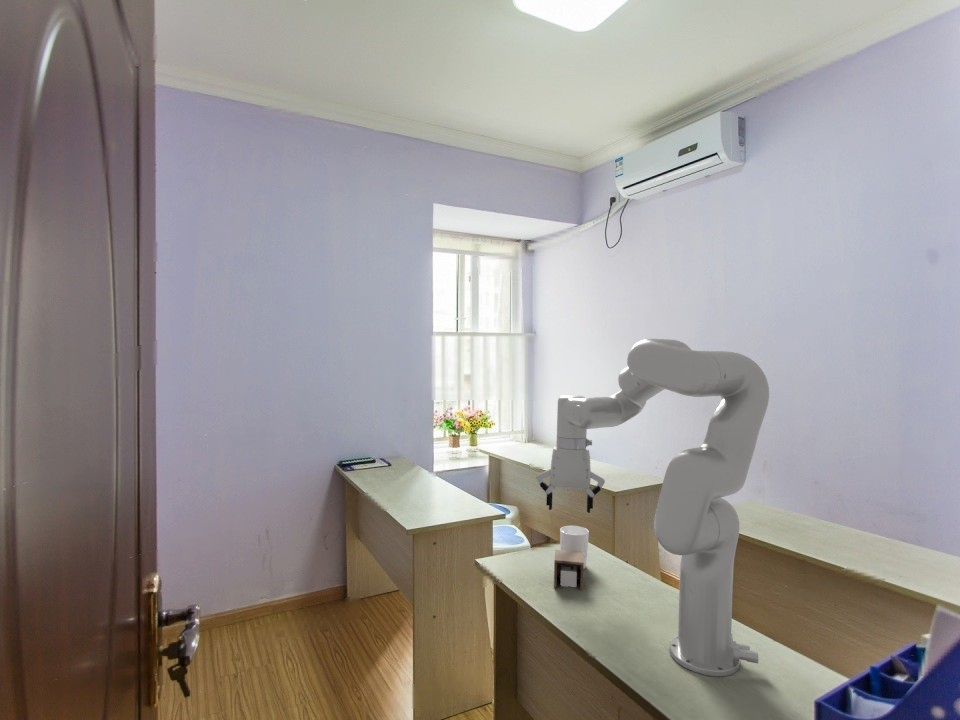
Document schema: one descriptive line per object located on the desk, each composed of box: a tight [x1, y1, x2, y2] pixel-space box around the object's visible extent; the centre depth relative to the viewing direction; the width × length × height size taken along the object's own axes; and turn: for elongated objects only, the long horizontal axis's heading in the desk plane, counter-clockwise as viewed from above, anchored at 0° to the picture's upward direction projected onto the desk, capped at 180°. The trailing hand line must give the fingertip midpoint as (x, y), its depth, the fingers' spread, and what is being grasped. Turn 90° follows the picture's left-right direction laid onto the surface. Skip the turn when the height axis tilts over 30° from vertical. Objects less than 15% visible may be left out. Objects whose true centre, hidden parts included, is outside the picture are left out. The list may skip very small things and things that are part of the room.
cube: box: [560, 564, 578, 588], centre depth 136 cm, size 4×4×4 cm
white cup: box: [559, 525, 590, 570], centre depth 147 cm, size 8×8×10 cm
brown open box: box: [553, 549, 585, 591], centre depth 136 cm, size 7×7×7 cm
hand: (569, 509), depth 136 cm, fingers open, 9 cm apart
